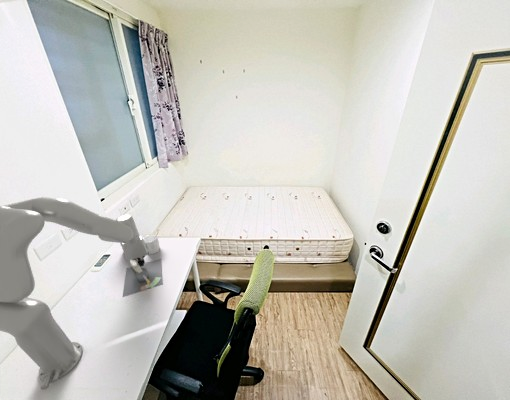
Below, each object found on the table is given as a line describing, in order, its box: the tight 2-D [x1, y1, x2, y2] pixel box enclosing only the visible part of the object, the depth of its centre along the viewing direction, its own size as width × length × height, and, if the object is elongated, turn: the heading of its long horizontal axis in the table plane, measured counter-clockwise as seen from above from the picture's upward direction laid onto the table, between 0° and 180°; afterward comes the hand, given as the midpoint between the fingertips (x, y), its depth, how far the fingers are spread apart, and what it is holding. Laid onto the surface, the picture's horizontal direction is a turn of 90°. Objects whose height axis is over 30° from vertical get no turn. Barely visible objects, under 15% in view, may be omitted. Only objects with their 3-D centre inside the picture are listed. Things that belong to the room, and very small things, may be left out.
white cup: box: [142, 233, 161, 255], centre depth 131 cm, size 8×8×10 cm
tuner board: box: [122, 258, 164, 298], centre depth 115 cm, size 20×18×1 cm
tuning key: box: [129, 259, 150, 284], centre depth 113 cm, size 22×5×4 cm, turn 47°
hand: (142, 264), depth 119 cm, fingers closed
